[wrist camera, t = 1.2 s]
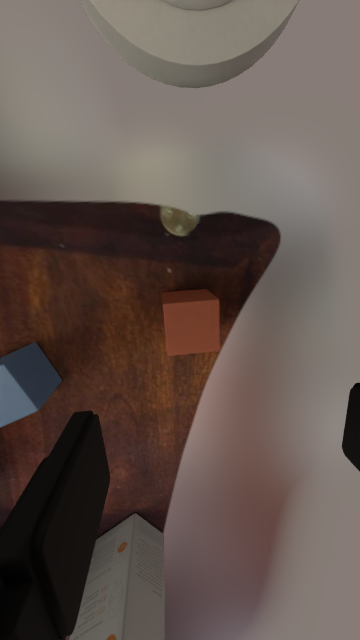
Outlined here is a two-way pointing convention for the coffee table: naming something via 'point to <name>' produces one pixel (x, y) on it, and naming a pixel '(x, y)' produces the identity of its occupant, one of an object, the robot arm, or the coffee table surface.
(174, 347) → the terracotta block
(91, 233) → the coffee table surface
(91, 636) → the small box
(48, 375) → the blue block
